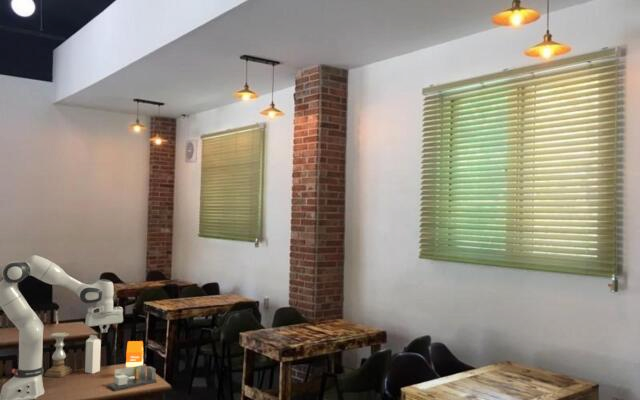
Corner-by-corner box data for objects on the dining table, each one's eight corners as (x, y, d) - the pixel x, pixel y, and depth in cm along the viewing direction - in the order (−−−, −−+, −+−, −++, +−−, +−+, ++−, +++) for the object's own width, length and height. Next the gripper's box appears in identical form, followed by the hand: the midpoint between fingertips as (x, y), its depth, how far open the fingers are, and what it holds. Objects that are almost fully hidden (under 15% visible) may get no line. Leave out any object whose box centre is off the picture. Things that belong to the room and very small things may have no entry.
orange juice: (127, 373, 326) (128, 339, 327) (142, 372, 328) (143, 339, 329) (125, 377, 319) (126, 343, 319) (141, 376, 320) (142, 342, 321)
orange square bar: (136, 379, 310) (136, 370, 310) (135, 378, 310) (135, 369, 311) (138, 378, 310) (138, 370, 310) (137, 378, 311) (137, 369, 311)
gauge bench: (114, 391, 294) (115, 375, 294) (107, 386, 302) (108, 370, 302) (156, 382, 310) (157, 367, 310) (148, 378, 318) (149, 363, 318)
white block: (118, 385, 297) (118, 378, 298) (113, 382, 302) (114, 375, 302) (135, 382, 304) (136, 375, 304) (131, 379, 309) (131, 372, 309)
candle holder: (61, 377, 315) (62, 336, 315) (44, 376, 316) (45, 335, 317) (72, 372, 326) (73, 332, 326) (55, 370, 327) (57, 331, 328)
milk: (92, 369, 331) (94, 333, 332) (100, 371, 329) (101, 334, 330) (84, 372, 326) (86, 335, 327) (92, 373, 323) (93, 336, 324)
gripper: (120, 305, 315) (120, 329, 315) (84, 309, 302) (83, 333, 301) (125, 306, 311) (124, 331, 310) (88, 310, 297) (87, 335, 297)
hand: (104, 332), depth 306 cm, fingers closed
